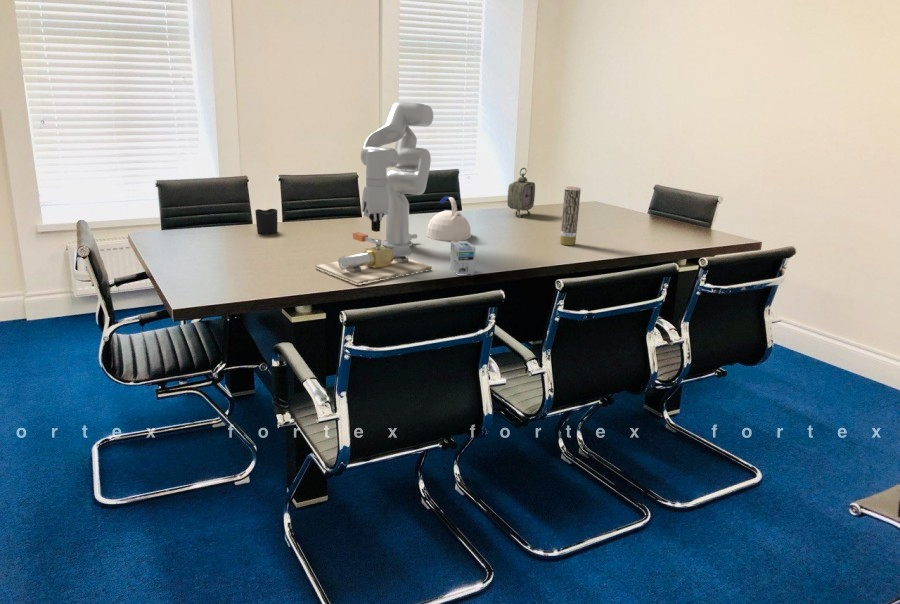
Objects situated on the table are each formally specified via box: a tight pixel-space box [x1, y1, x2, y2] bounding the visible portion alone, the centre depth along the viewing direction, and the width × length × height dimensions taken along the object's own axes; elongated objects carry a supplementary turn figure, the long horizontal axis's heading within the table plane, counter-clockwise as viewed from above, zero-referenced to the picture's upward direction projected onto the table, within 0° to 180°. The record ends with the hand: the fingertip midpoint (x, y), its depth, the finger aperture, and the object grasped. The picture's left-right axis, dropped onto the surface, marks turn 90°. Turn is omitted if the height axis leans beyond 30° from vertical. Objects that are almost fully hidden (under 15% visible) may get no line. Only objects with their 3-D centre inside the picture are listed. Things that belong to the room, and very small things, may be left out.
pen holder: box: [254, 208, 278, 235], centre depth 305 cm, size 9×9×10 cm
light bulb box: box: [449, 240, 477, 276], centre depth 256 cm, size 11×7×11 cm, turn 17°
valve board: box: [315, 258, 433, 284], centre depth 255 cm, size 34×26×2 cm
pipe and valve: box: [338, 245, 412, 273], centre depth 253 cm, size 30×6×8 cm, turn 133°
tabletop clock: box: [506, 167, 536, 218], centre depth 360 cm, size 14×9×25 cm, turn 147°
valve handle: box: [352, 231, 382, 247], centre depth 256 cm, size 3×15×2 cm, turn 43°
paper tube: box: [559, 186, 582, 247], centre depth 301 cm, size 7×7×25 cm
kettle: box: [426, 195, 472, 242], centre depth 310 cm, size 20×21×18 cm
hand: (375, 230), depth 263 cm, fingers closed
